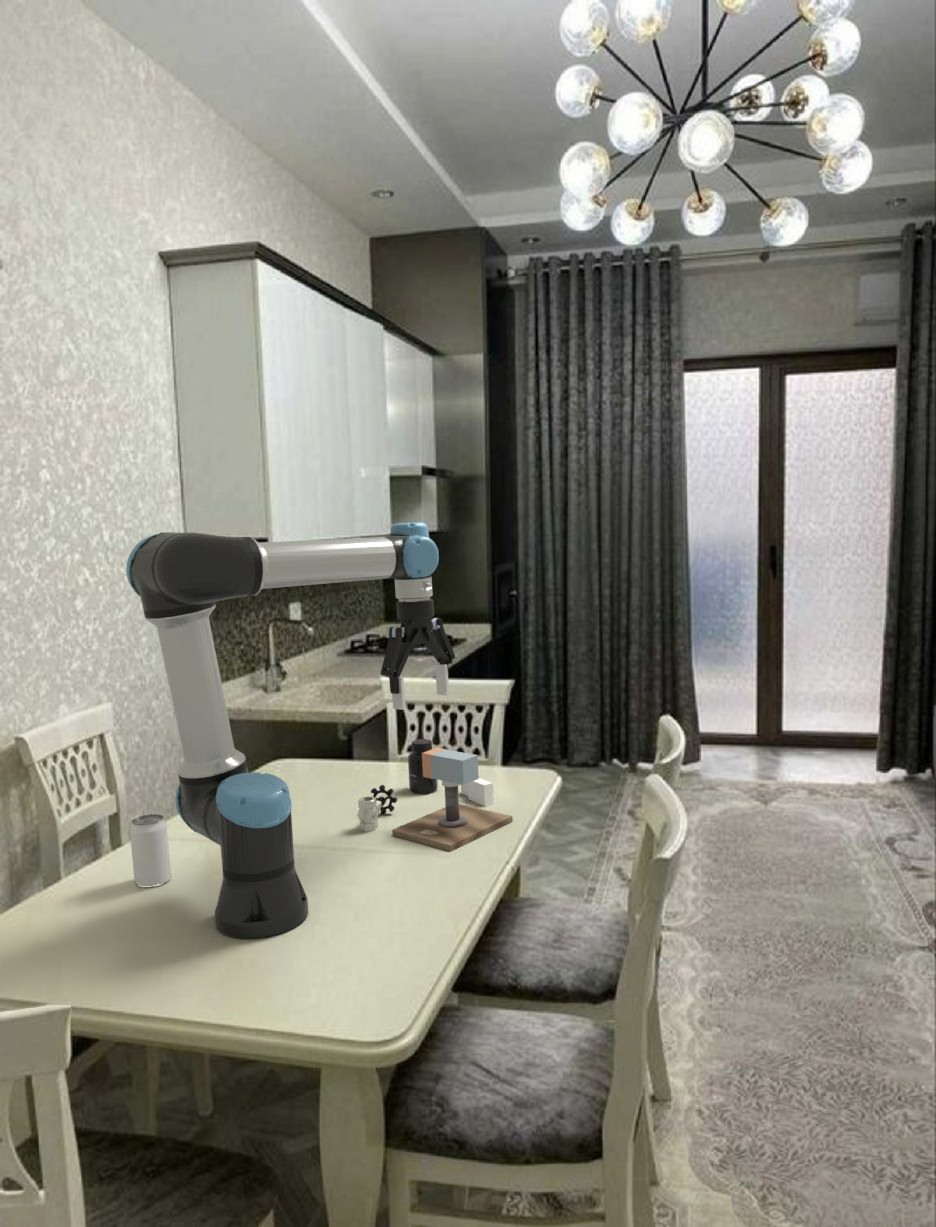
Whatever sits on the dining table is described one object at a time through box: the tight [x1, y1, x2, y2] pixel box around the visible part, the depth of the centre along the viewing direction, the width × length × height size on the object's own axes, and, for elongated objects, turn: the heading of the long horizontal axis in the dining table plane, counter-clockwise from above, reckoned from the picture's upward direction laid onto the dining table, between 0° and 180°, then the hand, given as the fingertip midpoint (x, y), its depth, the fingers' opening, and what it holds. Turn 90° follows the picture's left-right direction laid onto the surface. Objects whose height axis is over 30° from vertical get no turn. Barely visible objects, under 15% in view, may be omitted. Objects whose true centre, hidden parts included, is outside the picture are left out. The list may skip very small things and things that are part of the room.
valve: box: [357, 784, 398, 833], centre depth 196 cm, size 7×7×12 cm
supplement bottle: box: [407, 738, 439, 795], centre depth 217 cm, size 7×7×12 cm
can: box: [129, 813, 172, 886], centre depth 169 cm, size 6×6×12 cm
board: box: [391, 786, 514, 852], centre depth 190 cm, size 20×16×9 cm
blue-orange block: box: [422, 747, 479, 788], centre depth 189 cm, size 5×11×6 cm, turn 50°
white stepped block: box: [460, 774, 495, 807], centre depth 210 cm, size 15×11×6 cm
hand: (421, 701), depth 187 cm, fingers open, 13 cm apart
